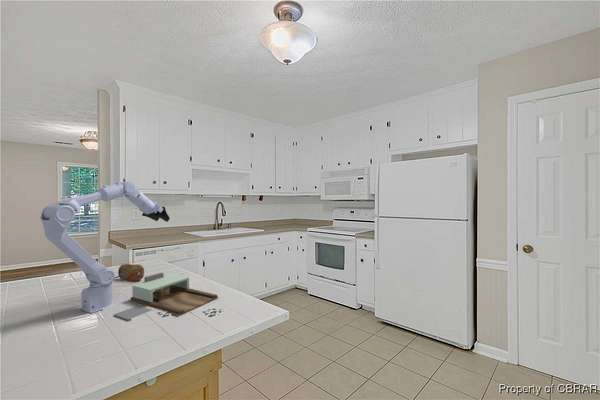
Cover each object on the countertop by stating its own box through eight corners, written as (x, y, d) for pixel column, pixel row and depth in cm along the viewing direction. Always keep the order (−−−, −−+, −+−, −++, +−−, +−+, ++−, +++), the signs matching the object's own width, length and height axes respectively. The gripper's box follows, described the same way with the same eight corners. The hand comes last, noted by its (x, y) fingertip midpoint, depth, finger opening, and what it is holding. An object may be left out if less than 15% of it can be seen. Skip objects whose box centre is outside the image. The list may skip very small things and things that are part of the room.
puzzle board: (177, 316, 100) (177, 312, 100) (129, 301, 115) (129, 298, 115) (218, 298, 118) (218, 294, 118) (171, 287, 132) (171, 284, 132)
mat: (128, 321, 97) (128, 319, 97) (113, 315, 101) (113, 314, 101) (152, 311, 105) (152, 309, 105) (138, 307, 109) (138, 305, 109)
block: (160, 297, 117) (160, 286, 117) (154, 296, 119) (154, 284, 119) (169, 294, 121) (169, 283, 121) (163, 293, 123) (163, 281, 123)
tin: (117, 279, 145) (117, 263, 145) (123, 278, 148) (122, 262, 148) (140, 282, 140) (140, 265, 140) (145, 280, 143) (145, 264, 143)
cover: (150, 302, 109) (150, 284, 109) (132, 297, 115) (132, 280, 115) (189, 288, 125) (189, 272, 125) (171, 284, 131) (171, 269, 131)
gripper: (157, 195, 123) (177, 213, 132) (138, 195, 130) (158, 212, 139) (148, 207, 119) (169, 225, 128) (128, 207, 126) (150, 224, 135)
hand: (163, 219), depth 134 cm, fingers open, 7 cm apart
